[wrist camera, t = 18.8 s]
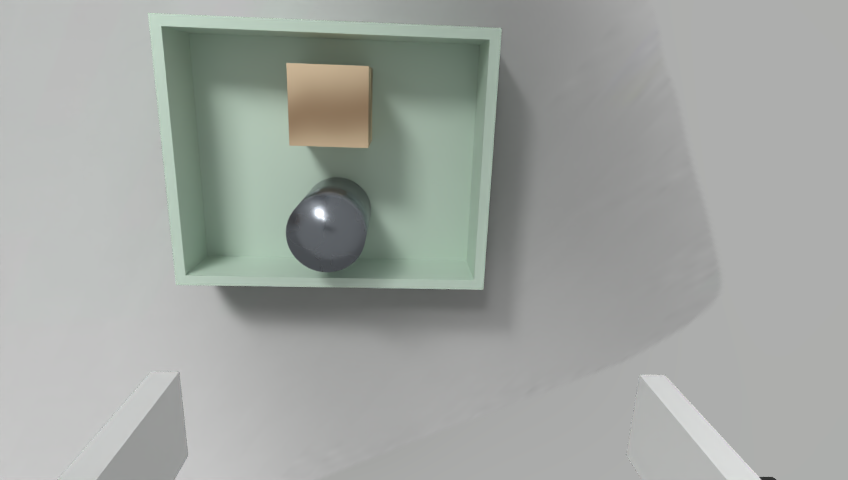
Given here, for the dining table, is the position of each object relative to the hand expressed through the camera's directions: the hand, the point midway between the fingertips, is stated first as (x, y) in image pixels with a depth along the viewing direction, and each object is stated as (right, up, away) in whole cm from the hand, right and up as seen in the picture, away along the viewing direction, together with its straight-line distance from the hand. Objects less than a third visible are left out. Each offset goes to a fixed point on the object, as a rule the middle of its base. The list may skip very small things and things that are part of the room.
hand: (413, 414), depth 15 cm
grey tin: (-6, +7, +25) cm, 27 cm away
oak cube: (-6, +15, +23) cm, 28 cm away
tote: (-6, +11, +24) cm, 27 cm away
